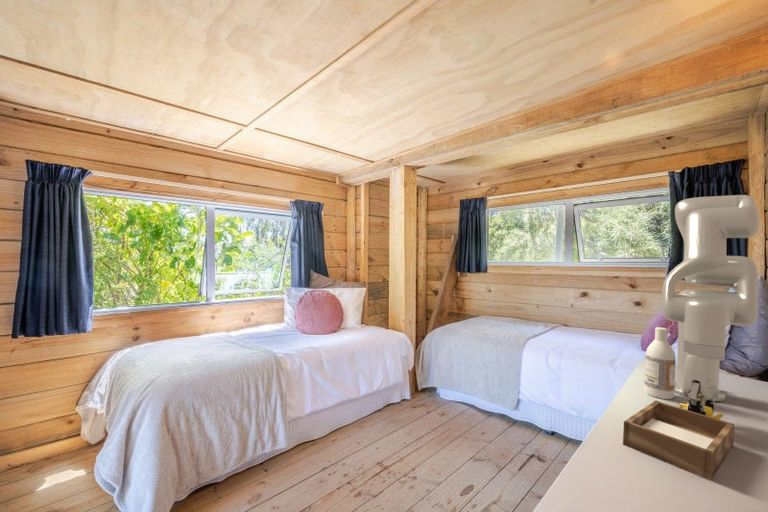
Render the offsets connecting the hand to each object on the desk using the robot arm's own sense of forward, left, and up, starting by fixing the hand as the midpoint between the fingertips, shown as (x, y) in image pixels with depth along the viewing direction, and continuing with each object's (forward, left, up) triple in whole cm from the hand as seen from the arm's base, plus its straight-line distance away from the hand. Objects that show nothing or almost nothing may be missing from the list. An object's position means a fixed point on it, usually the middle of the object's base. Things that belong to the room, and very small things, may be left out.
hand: (700, 420), depth 85 cm
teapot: (0, 0, -1) cm, 1 cm away
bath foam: (-14, -12, -1) cm, 18 cm away
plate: (+19, 0, -1) cm, 20 cm away
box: (+17, 0, -1) cm, 18 cm away
